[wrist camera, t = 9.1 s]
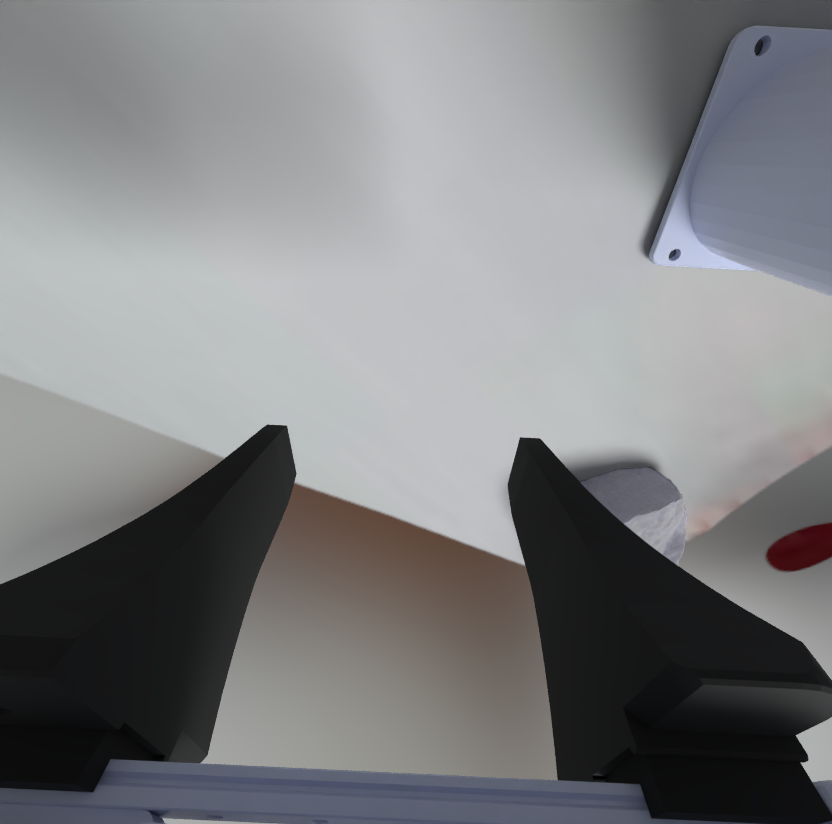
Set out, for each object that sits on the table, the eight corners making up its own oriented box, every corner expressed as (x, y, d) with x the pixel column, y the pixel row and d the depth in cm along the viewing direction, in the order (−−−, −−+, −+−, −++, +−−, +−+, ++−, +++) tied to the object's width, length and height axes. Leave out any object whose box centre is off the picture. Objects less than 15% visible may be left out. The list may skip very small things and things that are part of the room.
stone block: (649, 439, 27) (520, 491, 27) (704, 485, 23) (551, 545, 23) (649, 532, 33) (545, 572, 34) (691, 581, 29) (572, 625, 30)
